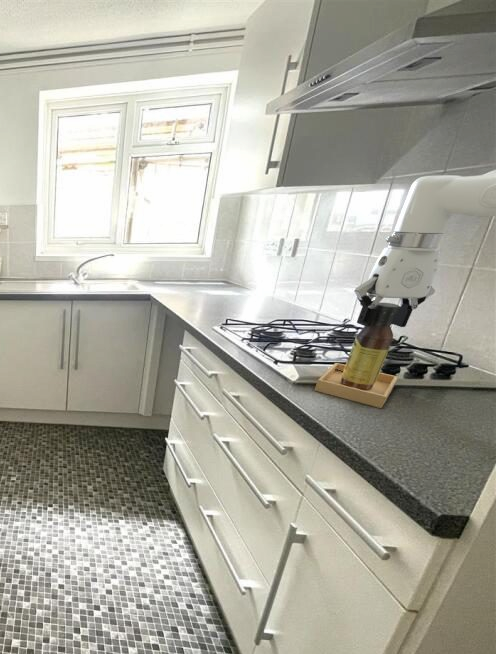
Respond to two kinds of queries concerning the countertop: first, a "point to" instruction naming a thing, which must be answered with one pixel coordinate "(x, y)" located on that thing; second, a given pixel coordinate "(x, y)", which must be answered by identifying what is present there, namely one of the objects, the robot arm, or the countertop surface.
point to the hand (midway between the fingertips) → (380, 324)
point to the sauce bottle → (370, 349)
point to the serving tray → (373, 397)
